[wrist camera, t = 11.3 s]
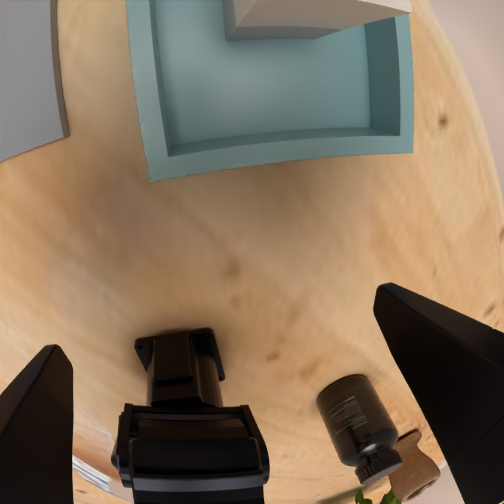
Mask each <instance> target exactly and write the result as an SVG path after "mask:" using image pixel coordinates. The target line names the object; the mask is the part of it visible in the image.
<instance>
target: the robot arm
mask: <svg viewBox="0 0 504 504" xmlns="http://www.w3.org/2000/svg"><path fill="white" fill-rule="evenodd" d="M373 312H374V316H375V318H376V320H377V322H378V325H379V327H380V329H381V331H382V334H383V336H384V338H385V340H386V343H387V345H388V347H389V350H390V352H391V354H392V356H393V358H394V360H395V362H396V364H397V366H398V368H399V369H400V371H401V373H402V375H403V377H404V378H405V380H406V382H407V384H408V386H409V388H410V389H411V391H412V393H413V395H414V397H415V399H416V401H417V403H418V405H419V406H420V408H421V410H422V412H423V414H424V416H425V418H426V420H427V422H428V424H429V426H430V428H431V430H432V432H433V434H434V436H435V438H436V440H437V442H438V444H439V446H440V448H441V451H442V453H443V455H444V457H445V459H446V461H447V463H448V466H449V467H450V470H451V473H452V475H453V477H454V479H455V482H456V484H457V486H458V488H459V491H460V493H461V495H462V498H463V500H464V502H465V504H499V503H501V502H502V501H504V333H503V332H501V331H498V330H496V329H493V328H492V327H490V326H488V325H486V324H483V323H481V322H479V321H477V320H475V319H473V318H470V317H468V316H466V315H464V314H462V313H459V312H457V311H455V310H453V309H451V308H448V307H446V306H444V305H442V304H440V303H437V302H435V301H433V300H431V299H428V298H426V297H424V296H422V295H419V294H417V293H415V292H413V291H410V290H408V289H406V288H403V287H401V286H399V285H397V284H394V283H391V282H389V283H385V284H382V285H379V286H378V288H377V290H376V296H375V301H374V306H373ZM207 334H208V336H206V335H207ZM139 345H142V346H139ZM134 348H135V350H136V352H137V354H138V356H139V358H140V360H141V362H142V364H143V366H144V368H145V370H146V371H147V373H148V375H147V406H140V405H133V404H129V403H125V407H124V412H122V413H121V415H120V416H119V425H118V435H117V439H116V442H115V446H114V449H113V452H112V456H111V462H112V465H113V466H114V467H115V468H116V469H117V470H118V471H119V475H120V477H121V480H122V484H123V486H124V487H127V488H132V490H133V498H134V504H265V503H264V493H263V484H266V483H267V481H268V479H269V473H270V464H269V456H268V451H267V447H266V444H265V442H264V439H263V437H262V435H261V433H260V430H259V428H258V426H257V424H256V422H255V419H254V417H253V415H252V413H251V410H250V408H249V406H248V405H240V406H235V407H223V402H222V396H221V390H220V385H219V382H220V381H223V380H224V379H225V375H224V371H223V367H222V363H221V359H220V355H219V351H218V347H217V343H216V339H215V335H214V332H213V330H211V329H202V330H196V331H190V332H184V333H178V334H172V335H166V336H159V337H152V338H145V339H138V340H136V341H135V344H134ZM73 417H74V415H73V367H72V364H71V362H70V361H69V359H68V358H67V356H66V355H65V353H64V352H63V350H62V349H61V347H60V346H59V345H57V344H53V345H46V346H44V347H43V348H42V349H41V351H40V352H39V353H38V354H37V355H36V356H35V357H34V358H33V359H32V360H31V361H30V362H29V363H28V364H27V365H26V367H25V368H24V369H23V370H22V371H21V372H20V373H19V374H18V375H17V376H16V378H15V379H14V380H13V381H12V382H11V383H10V384H9V385H8V387H7V388H6V389H5V390H4V391H3V392H2V394H1V395H0V504H74V503H73V482H72V443H73ZM503 504H504V503H503Z"/></svg>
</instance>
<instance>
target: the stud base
mask: <svg viewBox="0 0 504 504" xmlns="http://www.w3.org/2000/svg"><path fill="white" fill-rule="evenodd" d="M69 135H70V134H69V128H68V123H67V117H66V111H65V105H64V98H63V91H62V83H61V75H60V65H59V54H58V39H57V0H0V162H1V161H4V160H6V159H8V158H11V157H13V156H15V155H18V154H20V153H23V152H25V151H28V150H31V149H33V148H36V147H38V146H41V145H44V144H47V143H49V142H52V141H55V140H58V139H61V138H64V137H66V136H69Z"/></svg>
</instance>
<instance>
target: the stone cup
mask: <svg viewBox="0 0 504 504" xmlns="http://www.w3.org/2000/svg"><path fill="white" fill-rule="evenodd" d="M421 437H422V434H421V432H414V433H412V434H410V435H408V436H406V437H405V438H403V439H401V440H399V441H398V442H396V444H395V445H394V449H398V451H399V455H400V456H401V458H402V460H403V464H402V466H400V467H399V468H398V469H396V470H395V471H393V472H392V473H390V474H388V476H389V480H390V484H391V488H392V491H393V493H394V495H395V496H396V497H397V498H398V499H399V500H400V501H402V502H407V501H410V500H412V499H414V498H416V497H417V496H419V495H420V494H421V493H422V492H423V491H424V490H425V489H426V488H428V487H430V486H432V485H433V484H434V483H435V482H436V481H437V480H438V479H439V477H440V470H439V468H438V467H437V465H436V464H435V463H434V461H433V460H432V459H431V458H429V457H428V456H427V455H425V454H424V453H423V452H422V451H420V449H419V448H418V446H417V443H418V442H419V440H420V439H421Z"/></svg>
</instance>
